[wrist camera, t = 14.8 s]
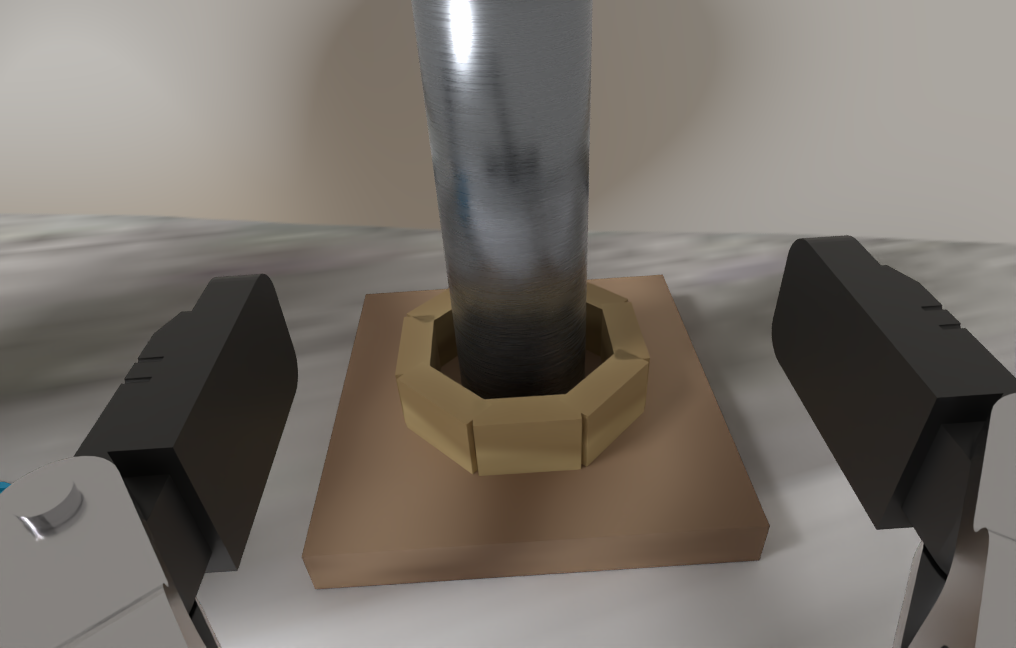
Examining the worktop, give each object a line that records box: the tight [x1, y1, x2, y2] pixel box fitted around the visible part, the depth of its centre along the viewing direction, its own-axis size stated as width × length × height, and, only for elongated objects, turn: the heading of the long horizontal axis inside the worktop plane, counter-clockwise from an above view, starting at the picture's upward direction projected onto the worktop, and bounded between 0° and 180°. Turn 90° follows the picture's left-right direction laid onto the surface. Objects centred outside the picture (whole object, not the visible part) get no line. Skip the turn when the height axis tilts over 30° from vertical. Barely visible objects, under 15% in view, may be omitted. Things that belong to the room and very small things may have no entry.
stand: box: [302, 275, 770, 589], centre depth 21 cm, size 12×12×4 cm
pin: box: [411, 0, 592, 399], centre depth 17 cm, size 5×5×14 cm
